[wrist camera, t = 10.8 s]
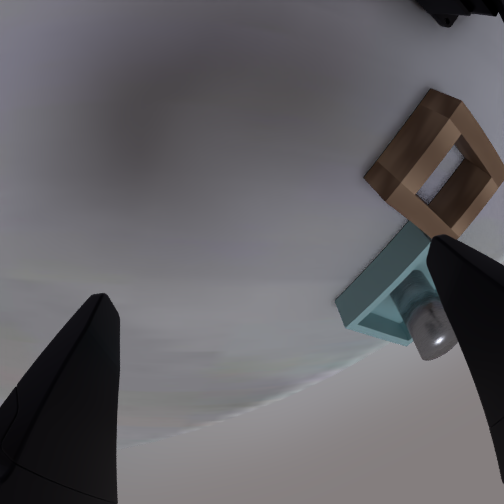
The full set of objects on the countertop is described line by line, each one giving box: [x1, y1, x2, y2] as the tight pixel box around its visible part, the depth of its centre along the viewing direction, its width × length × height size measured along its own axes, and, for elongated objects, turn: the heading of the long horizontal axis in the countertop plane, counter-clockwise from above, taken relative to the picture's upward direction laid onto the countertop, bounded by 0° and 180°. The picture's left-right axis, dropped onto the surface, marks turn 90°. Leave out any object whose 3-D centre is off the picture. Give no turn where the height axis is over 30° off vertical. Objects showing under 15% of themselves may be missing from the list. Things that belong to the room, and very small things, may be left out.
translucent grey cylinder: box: [390, 270, 458, 360], centre depth 24 cm, size 4×4×8 cm
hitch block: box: [364, 89, 504, 240], centre depth 19 cm, size 9×9×4 cm
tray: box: [335, 221, 438, 346], centre depth 27 cm, size 10×10×3 cm
